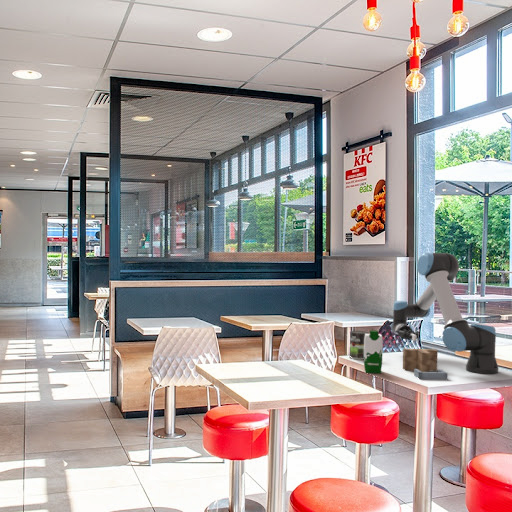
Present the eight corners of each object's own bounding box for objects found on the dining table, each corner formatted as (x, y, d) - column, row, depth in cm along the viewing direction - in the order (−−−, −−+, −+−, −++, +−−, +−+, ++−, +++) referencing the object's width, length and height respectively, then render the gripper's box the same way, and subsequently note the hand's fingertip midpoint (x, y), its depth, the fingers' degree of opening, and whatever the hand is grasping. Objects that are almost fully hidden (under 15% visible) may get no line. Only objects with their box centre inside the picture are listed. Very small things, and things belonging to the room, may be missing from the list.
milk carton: (364, 373, 293) (365, 331, 292) (362, 369, 302) (363, 328, 301) (382, 374, 292) (383, 332, 291) (380, 370, 301) (381, 329, 300)
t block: (434, 369, 307) (435, 349, 307) (442, 374, 295) (442, 353, 295) (402, 368, 307) (403, 348, 307) (408, 373, 295) (409, 352, 295)
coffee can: (360, 360, 327) (361, 333, 327) (345, 357, 335) (346, 331, 335) (372, 358, 334) (373, 332, 334) (357, 355, 342) (357, 330, 342)
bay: (441, 375, 291) (441, 369, 291) (447, 379, 282) (447, 373, 282) (414, 375, 291) (414, 368, 291) (419, 379, 282) (419, 372, 282)
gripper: (415, 338, 337) (427, 345, 314) (391, 337, 337) (402, 345, 314) (415, 324, 337) (428, 331, 314) (392, 324, 337) (402, 330, 313)
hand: (415, 338), depth 314 cm, fingers closed
